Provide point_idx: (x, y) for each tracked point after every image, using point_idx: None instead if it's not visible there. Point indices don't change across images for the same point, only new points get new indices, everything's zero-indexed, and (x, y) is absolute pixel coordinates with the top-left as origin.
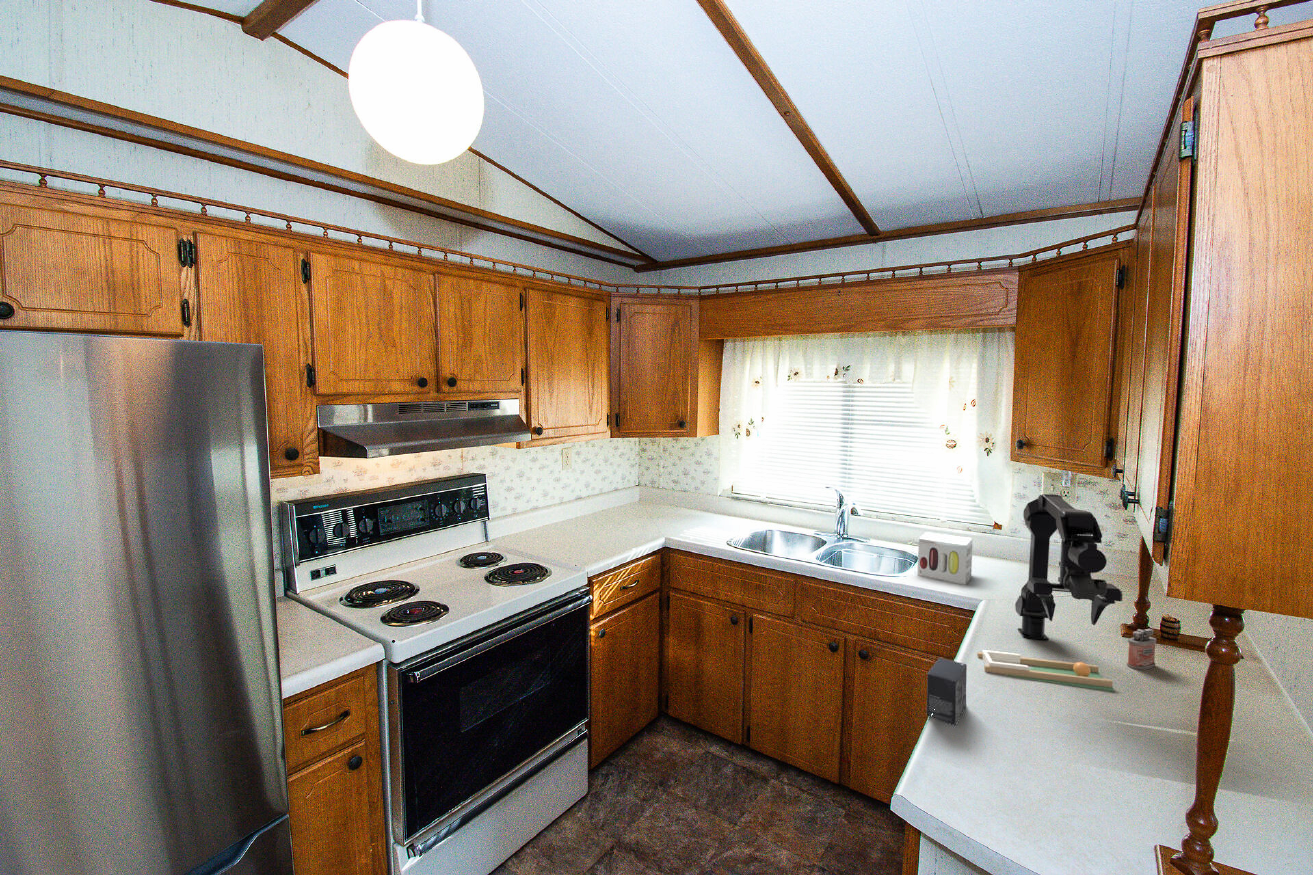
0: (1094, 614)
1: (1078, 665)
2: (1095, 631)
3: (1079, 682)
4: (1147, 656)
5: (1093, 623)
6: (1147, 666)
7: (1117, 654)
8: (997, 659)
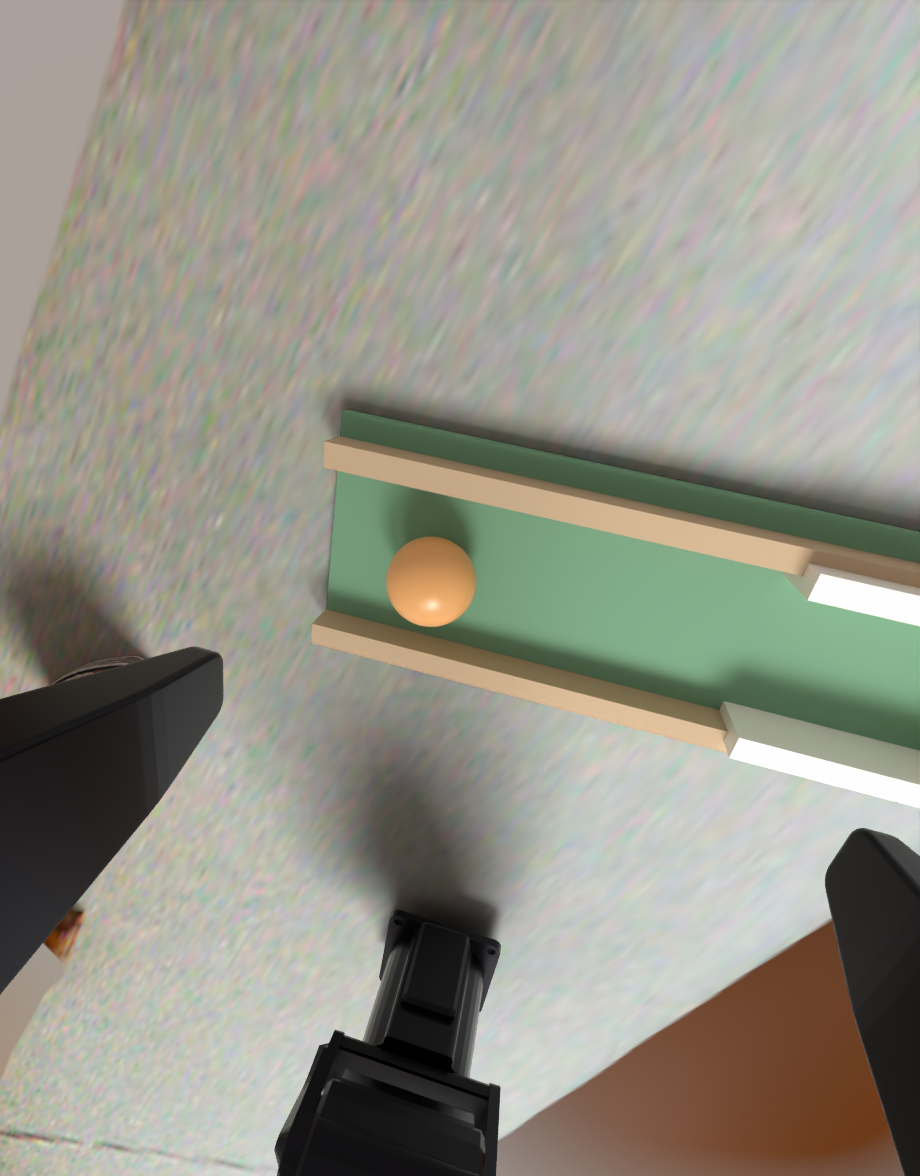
0: (54, 778)
1: (452, 581)
2: (157, 953)
3: (507, 472)
4: None
5: (205, 661)
6: (79, 669)
7: None
8: (864, 744)
